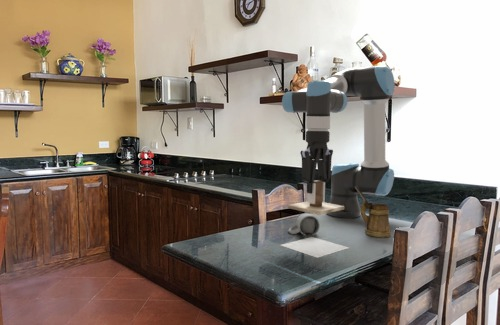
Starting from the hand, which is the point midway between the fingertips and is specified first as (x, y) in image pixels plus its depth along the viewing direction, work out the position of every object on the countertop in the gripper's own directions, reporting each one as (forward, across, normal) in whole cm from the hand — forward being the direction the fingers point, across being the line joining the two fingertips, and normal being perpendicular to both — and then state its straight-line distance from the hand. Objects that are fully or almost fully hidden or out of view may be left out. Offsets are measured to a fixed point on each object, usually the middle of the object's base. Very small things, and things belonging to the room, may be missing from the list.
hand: (315, 202), depth 130 cm
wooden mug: (+16, -30, +2) cm, 34 cm away
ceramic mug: (+16, -10, -14) cm, 23 cm away
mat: (+15, 0, 0) cm, 15 cm away
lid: (+2, 0, 0) cm, 2 cm away
